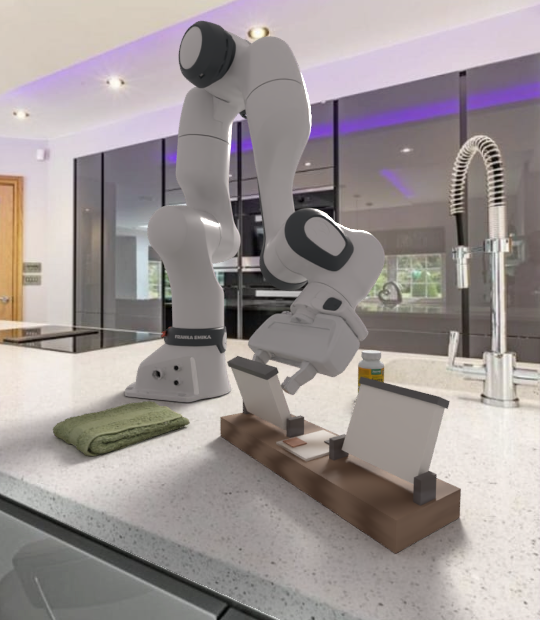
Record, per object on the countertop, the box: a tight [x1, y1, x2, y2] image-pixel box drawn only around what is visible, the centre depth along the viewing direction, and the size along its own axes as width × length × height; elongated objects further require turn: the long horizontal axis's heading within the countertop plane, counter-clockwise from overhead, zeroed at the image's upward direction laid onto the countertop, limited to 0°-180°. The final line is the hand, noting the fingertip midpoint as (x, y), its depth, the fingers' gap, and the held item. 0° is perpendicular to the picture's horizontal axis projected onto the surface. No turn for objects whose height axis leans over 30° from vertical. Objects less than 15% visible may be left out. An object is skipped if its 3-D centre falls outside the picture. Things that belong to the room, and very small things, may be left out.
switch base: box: [219, 400, 462, 554], centre depth 52 cm, size 33×10×5 cm, turn 34°
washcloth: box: [52, 400, 191, 457], centre depth 64 cm, size 13×18×3 cm
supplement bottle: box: [357, 349, 385, 393], centre depth 85 cm, size 5×5×10 cm
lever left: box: [226, 355, 292, 430], centre depth 58 cm, size 10×2×9 cm, turn 34°
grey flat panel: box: [342, 377, 450, 484], centre depth 44 cm, size 10×2×9 cm, turn 34°
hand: (267, 384), depth 59 cm, fingers open, 8 cm apart
